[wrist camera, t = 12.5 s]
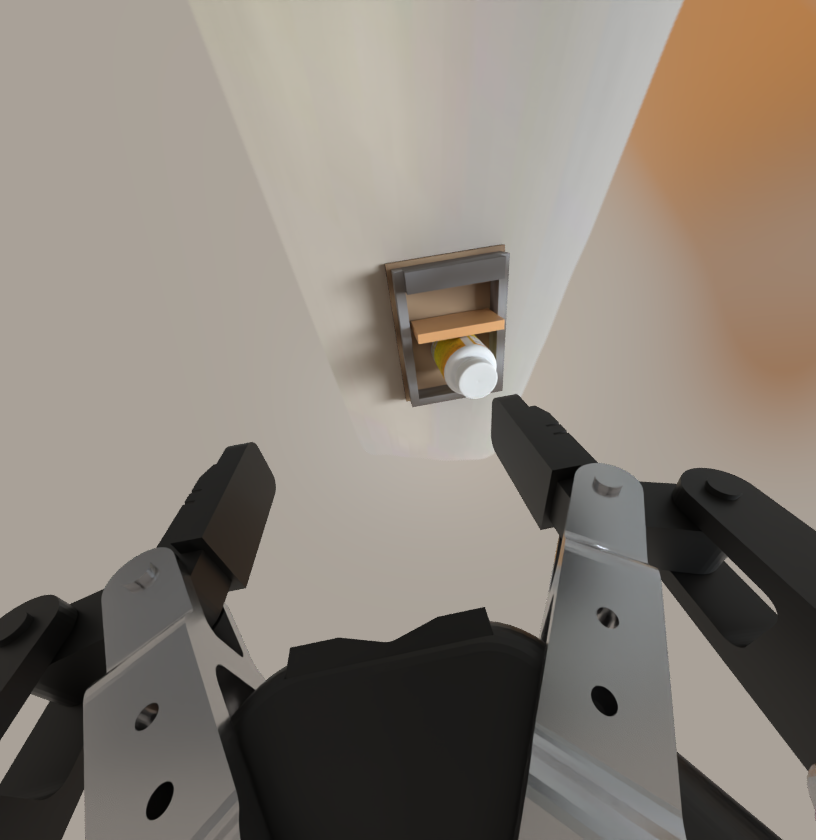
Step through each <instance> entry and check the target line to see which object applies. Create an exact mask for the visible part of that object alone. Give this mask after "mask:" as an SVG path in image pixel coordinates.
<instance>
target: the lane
mask: <svg viewBox="0 0 816 840" xmlns="http://www.w3.org/2000/svg"><path fill="white" fill-rule="evenodd" d="M509 258H510V253H507V252H505V245H503V244H501V245H495V246H489V247H483V248H477V249H471V250H465V251H459V252H453V253H447V254H441V255H435V256H429V257H423V258H417V259H411V260H404V261H398V262H392V263H386V264H385V268H386V274H387V281H388V287H389V293H390V300H391V306H392V312H393V319H394V325H395V332H396V338H397V344H398V351H399V357H400V364H401V370H402V376H403V383H404V389H405V396H406V401H411V404H412V407H416V406H422V405H427V404H432V403H438V402H443V401H449V400H454V399H460V398H465V396H464V395H462V394H458V393H456V392H454V391H453V390H452V389H451V388H450V387H449V386H448V385H447V383H446V381H445V379H444V378H443V376H442V374H441V372H440V370H439V368H438V366H437V365H436V363H435V361H434V359H433V357H432V353H431V345H432V342H429V343H423V344H418V341H417V339H416V337H415V335H414V333H413V331H412V326H411V321H415V320H421V319H427V318H433V317H438V316H444V315H450V314H456V313H461V312H467V311H473V310H479V309H485V308H489V309H490V310H492V311H493V312H494V313H496V314H497V315H499V316H500V317H502V318H503V319H505V325H504V329H502V330H497V331H491V332H485V333H480V334H474V335H475V336H476V337H477V338H478V339H479V340H480V341H481V342H482V343H483V344H484V345H485V346H486V347H487V348H488V349H489V350H490V351H491V352H492V354H493V355H494V357H495V359H496V364H497V368H496V372H497V375H498V379H497V383H496V386H495V388H494V389H493V390H492V391H491V392H490V393H492V392H498V391H502V388H503V369H504V351H505V332H506V313H507V295H508V276H509Z"/></svg>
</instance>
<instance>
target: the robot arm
mask: <svg viewBox="0 0 816 840" xmlns="http://www.w3.org/2000/svg"><path fill="white" fill-rule="evenodd" d="M491 439H492V444H493V448H494V450H495V452H496V454H497V456H498V457H499V459H500V461H501V463H502V464H503V466H504V468H505V469H506V471H507V473H508V475H509V476H510V478H511V480H512V482H513V483H514V485H515V487H516V488H517V490H518V492H519V494H520V495H521V497H522V499H523V501H524V502H525V504H526V506H527V507H528V509H529V511H530V513H531V514H532V516H533V518H534V519H535V521H536V523H537V524H538V526H539V528H540V530H542V529H547V528H552V527H554V528H555V529H556V531H557V532H558V534H559V539H558V543H557V548H556V554H555V559H554V564H553V570H552V575H551V581H550V587H549V591H548V597H547V602H546V607H545V611H544V616H543V620H542V625H541V630H540V635H539V638H537V637H536V636H534V635H532V634H530V633H528V632H526V631H524V630H522V629H519V628H517V627H514V626H511V625H508V624H503V623H499V622H492V621H489V619H488V616H487V612H486V609H485V607H483V608H478V609H473V610H468V611H464V612H459V613H454V614H449V615H445V616H440V617H437V618H435V619H433V620H431V621H429V622H428V623H426V624H424V625H422V626H420V627H418V628H417V629H415V630H413V631H411V632H409V633H407V634H405V635H403V636H402V637H400V638H398V639H396V640H394V641H391V642H376V641H367V640H357V639H347V638H335V639H330V640H326V641H321V642H316V643H311V644H306V645H301V646H297V647H292V648H290V653H289V658H288V664H287V666H286V667H284V668H282V669H281V670H279V671H278V672H276V673H275V674H273V675H272V676H271V677H269V678H268V679H267V680H265V679H264V677H263V676H262V674H261V673H260V672H259V670H258V669H257V668H256V666H255V664H254V663H253V661H252V659H251V657H250V654H249V652H248V650H247V648H246V645H245V643H244V641H243V639H242V636H241V634H240V632H239V630H238V628H237V625H236V623H235V621H234V619H233V616H232V614H231V612H230V609H229V607H228V606H227V605H226V604H225V603H224V602H225V599H226V596H227V593H228V592H229V591H233V590H239V589H244V588H246V586H247V583H248V580H249V576H250V573H251V570H252V567H253V563H254V560H255V557H256V553H257V550H258V547H259V544H260V541H261V537H262V534H263V530H264V527H265V524H266V521H267V518H268V515H269V511H270V508H271V505H272V502H273V498H274V495H275V490H276V484H275V479H274V476H273V474H272V472H271V470H270V468H269V467H268V465H267V463H266V461H265V459H264V457H263V455H262V453H261V452H260V450H259V448H258V446H257V445H256V444H255V443H253V442H250V443H245V444H239V445H234V446H229V447H227V448H226V449H225V451H224V452H223V454H222V456H221V457H220V459H219V461H218V463H217V464H215V465H213V466H212V467H211V468H210V469H208V470H207V472H205V473H204V474H203V475H202V476H201V477H200V478H199V480H198V481H197V483H196V484H195V486H194V488H193V490H192V493H191V494H189V496H188V497H187V499H186V501H185V505H183V506H182V507H181V509H180V510H179V512H178V514H177V515H176V517H175V518H174V520H173V522H172V523H171V525H170V527H169V528H168V530H167V532H166V533H165V535H164V536H163V538H162V540H161V541H160V543H159V544H158V546H157V548H154V549H151V550H148V551H146V552H144V553H141V554H140V555H138V556H136V557H134V558H133V559H132V560H130V561H129V562H127V563H126V564H125V565H124V566H123V567H121V568H120V569H119V570H118V571H117V572H116V573H115V574H114V575H113V576H112V578H111V579H110V580H109V582H108V583H107V585H106V586H105V588H104V589H103V590H101V591H98V592H96V593H94V594H92V595H90V596H87V597H85V598H83V599H81V600H78V601H76V602H74V603H71V604H68V603H66V602H65V601H63V600H61V599H60V598H58V597H56V596H54V595H44V596H40V597H37V598H34V599H32V600H29V601H27V602H25V603H23V604H21V605H20V606H18V607H16V608H14V609H13V610H12V611H10V612H8V613H7V614H5V615H4V616H3V617H2V618H0V740H1V738H2V737H3V735H4V734H5V732H6V731H7V729H8V727H9V726H10V724H11V723H12V721H13V720H14V718H15V717H16V715H17V714H18V712H19V711H20V709H21V708H22V706H23V704H24V703H25V701H26V700H27V698H28V697H29V695H30V694H32V695H35V696H38V697H40V698H43V699H46V700H49V701H50V702H49V704H48V705H47V707H46V709H45V710H44V712H43V714H42V715H41V717H40V719H39V720H38V722H37V724H36V725H35V727H34V729H33V730H32V732H31V734H30V735H29V737H28V739H27V740H26V742H25V744H24V745H23V747H22V749H21V750H20V752H19V753H18V755H17V757H16V759H15V760H14V762H13V764H12V765H11V767H10V769H9V770H8V772H7V773H6V775H5V777H4V779H3V780H2V782H1V784H0V840H61V839H62V837H63V835H64V832H65V830H66V828H67V826H68V824H69V821H70V819H71V817H72V815H73V812H74V810H75V808H76V806H77V803H78V801H79V799H80V796H81V795H82V792H83V790H84V795H85V840H782V839H781V838H780V837H779V836H777V835H776V834H775V833H774V832H773V831H771V830H770V829H769V828H768V827H766V826H765V825H764V824H763V823H762V822H761V821H759V820H758V819H757V818H756V817H755V816H753V815H752V814H751V813H750V812H749V811H747V810H746V809H745V808H744V807H743V806H741V805H740V804H739V803H738V802H736V801H735V800H734V799H733V798H732V797H731V796H729V795H728V794H727V793H726V792H725V791H723V790H722V789H721V788H720V787H719V786H717V785H716V784H715V783H714V782H713V781H711V780H710V779H709V778H708V777H706V776H705V775H704V774H703V773H702V772H700V771H699V770H698V769H697V768H695V766H693V765H692V764H691V763H690V762H689V761H687V760H686V759H685V758H684V757H682V756H681V755H680V754H679V753H678V752H677V751H676V740H675V729H674V718H673V706H672V695H671V684H670V672H669V661H668V651H667V640H666V628H665V616H664V605H663V594H662V583H661V580H662V581H663V583H664V584H665V585H666V587H667V588H668V589H669V591H670V592H671V593H672V594H673V596H674V597H675V598H676V600H677V601H678V602H679V603H680V605H681V606H682V607H683V609H684V610H685V611H686V612H687V614H688V615H689V617H690V618H691V619H692V620H693V622H694V623H695V624H696V626H697V627H698V628H699V630H700V631H701V632H702V634H703V635H704V636H705V637H706V639H707V640H708V641H709V643H710V644H711V645H712V646H713V648H714V649H715V650H716V652H717V653H718V654H719V656H720V657H721V658H722V660H723V661H724V662H725V664H726V665H727V666H728V667H729V669H730V670H731V671H732V673H733V674H734V675H735V677H736V678H737V679H738V680H739V682H740V683H741V684H742V685H743V687H744V688H745V690H746V691H747V692H748V693H749V695H750V696H751V697H752V699H753V700H754V701H755V703H756V704H757V705H758V707H759V708H760V709H761V710H762V712H763V713H764V714H765V716H766V717H767V718H768V720H769V721H770V722H771V723H772V725H773V726H774V727H775V729H776V730H777V731H778V733H779V734H780V735H781V736H782V738H783V739H784V740H785V742H786V743H787V744H788V746H789V747H790V748H791V750H792V751H793V752H794V753H795V755H796V756H797V757H798V759H800V761H801V763H802V764H803V765H804V766H805V768H806V769H807V770H808V776H807V785H808V790H809V795H810V798H811V800H812V803H813V806H814V809H815V819H816V531H815V530H814V529H812V528H811V527H809V526H808V525H807V524H805V523H804V522H803V521H801V520H800V519H798V518H797V517H796V516H794V515H793V514H792V513H790V512H789V511H787V510H786V509H785V508H783V507H782V506H780V505H779V504H778V503H776V502H775V501H774V500H772V499H771V498H770V497H768V496H767V495H765V494H764V493H763V492H761V491H760V490H759V489H757V488H755V487H754V486H753V485H752V484H750V483H748V482H747V481H745V480H743V479H741V478H739V477H737V476H735V475H732V474H730V473H726V472H723V471H719V470H715V469H709V468H694V469H690V470H687V471H685V472H684V473H683V474H682V475H681V477H680V479H679V481H678V483H677V484H669V483H651V482H640V481H638V480H637V479H636V478H635V477H634V476H633V475H631V474H630V473H628V472H627V471H625V470H623V469H621V468H619V467H616V466H613V465H609V464H603V463H598V462H597V461H596V460H595V459H594V458H593V457H592V456H591V455H590V454H589V453H588V452H587V451H586V450H585V449H584V448H583V447H582V446H581V445H580V444H579V443H578V442H577V441H576V440H575V439H574V438H573V437H572V436H571V435H570V434H569V433H567V432H566V430H565V429H564V428H563V427H562V426H561V425H559V423H558V421H557V420H556V419H555V418H554V417H553V416H552V415H551V414H550V413H548V412H546V411H544V410H542V409H540V408H539V407H537V406H530V407H529V406H528V405H527V404H526V403H525V402H524V401H523V400H522V399H521V397H520V396H519V395H517V394H514V395H509V396H503V397H498V398H494V399H493V402H492V423H491ZM727 556H728V557H729V558H730V559H731V560H732V561H733V562H734V563H735V564H736V565H737V566H738V567H739V568H740V569H741V570H742V571H743V572H744V573H745V574H746V575H747V576H748V577H749V578H750V579H751V580H752V581H753V582H754V583H755V584H756V585H757V586H758V587H759V588H760V589H761V590H762V591H763V592H764V593H765V594H766V595H767V596H768V597H769V599H770V600H771V601H772V603H773V604H774V606H775V608H776V611H777V614H778V615H777V614H776V613H775V612H774V611H773V610H772V609H771V608H770V607H769V606H768V605H767V604H766V603H765V602H764V601H763V600H762V599H761V598H760V597H759V596H758V595H757V594H756V593H755V592H754V591H753V590H752V589H751V588H750V587H749V586H748V585H747V584H746V583H745V582H744V581H743V580H742V579H741V578H740V577H739V576H738V575H737V574H736V573H735V572H734V571H733V570H732V569H731V568H730V567H729V566H728V565H727V564H726V563H725V561H724V560H725V559H726V558H727Z"/></svg>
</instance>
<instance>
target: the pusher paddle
mask: <svg viewBox="0 0 816 840" xmlns="http://www.w3.org/2000/svg"><path fill="white" fill-rule="evenodd" d="M504 325H505V319H503V318H502V317H500V316H499V315H497V314H496V313H494V312H493V311H492V310H490V309H489V308H485V309H479V310H473V311H467V312H461V313H456V314H450V315H444V316H438V317H433V318H427V319H421V320H415V321H411V326H412V331H413V333H414V335H415V337H416V339H417V341H418V344H423V343H429V342H434V341H440V340H446V339H451V338H457V337H463V336H468V335H474V334H480V333H485V332H491V331H497V330H502V329H504Z"/></svg>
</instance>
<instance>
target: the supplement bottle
mask: <svg viewBox="0 0 816 840" xmlns="http://www.w3.org/2000/svg"><path fill="white" fill-rule="evenodd" d="M431 353H432V357H433V359H434V361H435V363H436V365H437V366H438V368H439V370H440V372H441V374H442V376H443V378H444V379H445V381H446V383H447V385H448V386H449V387H450V388H451V389H452V390H453V391H454V392H456V393H458V394H462V395H464V396H465V397H467V398H470V399H479V398H482V397H485V396H486V395H488V394H489V393H490V392H491V391H492V390H493V389H494V388H495V386H496V383H497V379H498V375H497V372H496V368H497V364H496V359H495V357H494V355H493V354H492V352H491V351H490V350H489V349H488V348H487V347H486V346H485V345H484V344H483V343H482V342H481V341H480V340H479V339H478V338H477V337H476V336H475V335H468V336H463V337H457V338H451V339H446V340H440V341H434V342H432V345H431Z"/></svg>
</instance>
